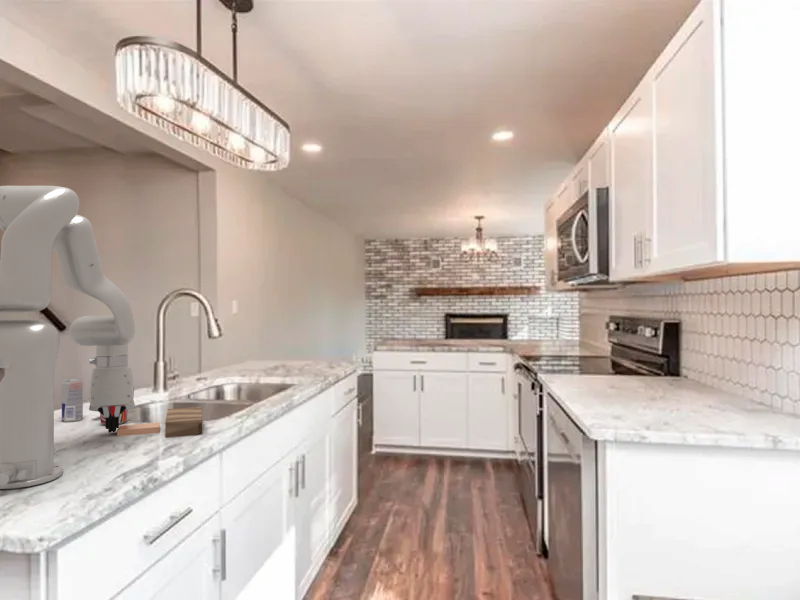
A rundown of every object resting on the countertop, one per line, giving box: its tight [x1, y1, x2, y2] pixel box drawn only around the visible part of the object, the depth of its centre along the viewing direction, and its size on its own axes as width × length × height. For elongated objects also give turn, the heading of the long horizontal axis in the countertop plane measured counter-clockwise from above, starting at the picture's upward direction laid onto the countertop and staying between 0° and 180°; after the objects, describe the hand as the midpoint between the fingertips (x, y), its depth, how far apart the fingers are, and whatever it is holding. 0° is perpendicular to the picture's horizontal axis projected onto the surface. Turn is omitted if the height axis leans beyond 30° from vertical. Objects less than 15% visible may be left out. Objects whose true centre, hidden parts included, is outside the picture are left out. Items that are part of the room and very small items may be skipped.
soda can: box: [99, 405, 129, 426], centre depth 155 cm, size 7×7×12 cm
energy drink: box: [61, 378, 84, 423], centre depth 159 cm, size 5×5×12 cm
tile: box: [116, 422, 161, 437], centre depth 145 cm, size 6×10×2 cm, turn 112°
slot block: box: [164, 406, 203, 438], centre depth 149 cm, size 18×9×4 cm, turn 21°
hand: (112, 431), depth 143 cm, fingers closed
